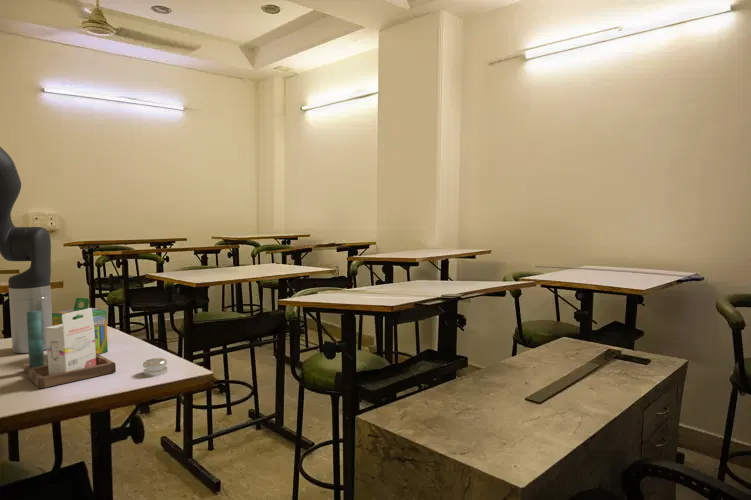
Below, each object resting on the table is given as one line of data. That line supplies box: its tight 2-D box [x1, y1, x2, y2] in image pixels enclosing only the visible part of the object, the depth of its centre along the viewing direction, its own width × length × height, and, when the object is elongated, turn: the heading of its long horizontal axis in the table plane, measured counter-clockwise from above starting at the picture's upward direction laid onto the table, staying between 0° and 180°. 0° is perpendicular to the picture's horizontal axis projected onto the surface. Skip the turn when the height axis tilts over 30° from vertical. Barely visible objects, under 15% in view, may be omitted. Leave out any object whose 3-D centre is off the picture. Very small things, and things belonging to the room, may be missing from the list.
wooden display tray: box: [23, 311, 117, 389], centre depth 112 cm, size 18×15×14 cm
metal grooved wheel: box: [142, 357, 168, 377], centre depth 111 cm, size 5×3×5 cm
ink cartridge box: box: [46, 307, 96, 375], centre depth 109 cm, size 9×5×15 cm, turn 166°
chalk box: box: [52, 297, 109, 355], centre depth 126 cm, size 9×9×15 cm
